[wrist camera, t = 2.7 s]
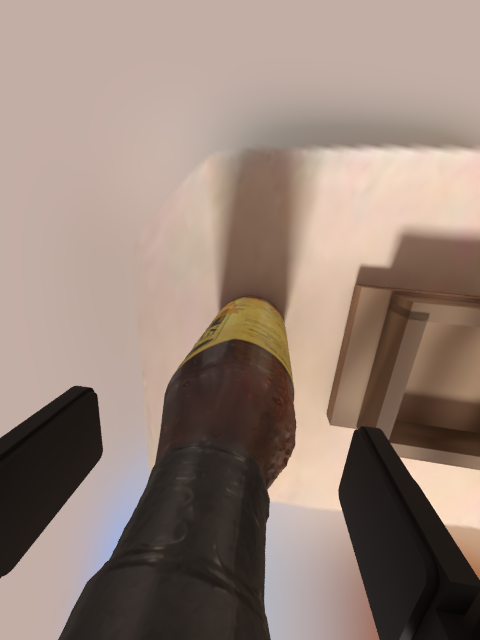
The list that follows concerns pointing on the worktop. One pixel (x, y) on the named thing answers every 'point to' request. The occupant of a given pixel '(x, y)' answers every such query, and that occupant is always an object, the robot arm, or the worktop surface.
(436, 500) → the worktop surface
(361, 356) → the caddy
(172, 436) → the sauce bottle
